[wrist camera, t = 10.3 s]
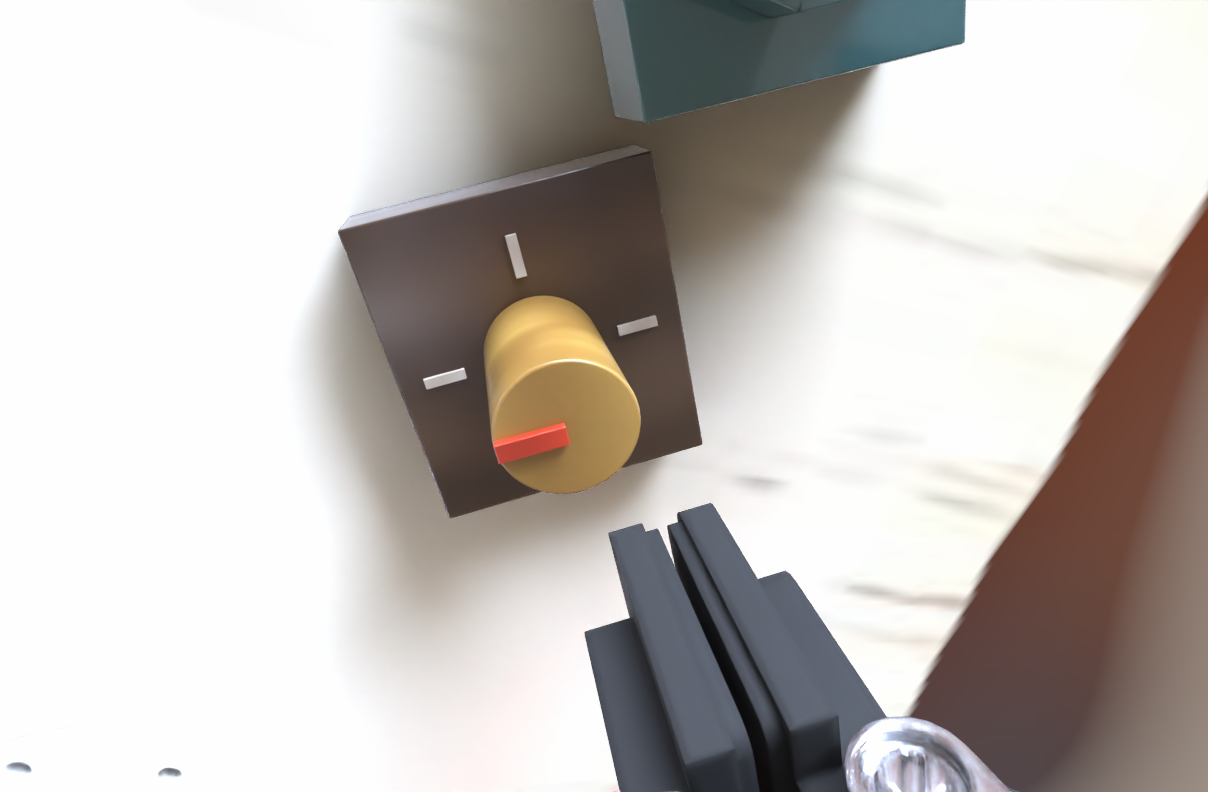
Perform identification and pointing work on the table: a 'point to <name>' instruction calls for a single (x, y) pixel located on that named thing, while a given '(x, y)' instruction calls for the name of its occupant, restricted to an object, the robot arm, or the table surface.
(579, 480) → the knob
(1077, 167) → the table surface
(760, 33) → the teal push button box
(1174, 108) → the table surface
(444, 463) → the knob panel
